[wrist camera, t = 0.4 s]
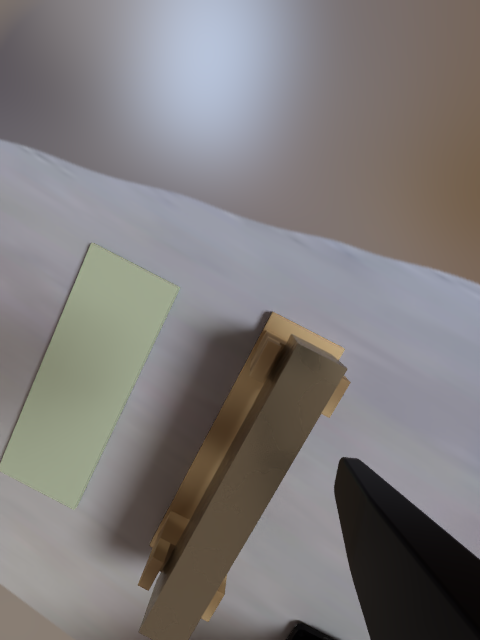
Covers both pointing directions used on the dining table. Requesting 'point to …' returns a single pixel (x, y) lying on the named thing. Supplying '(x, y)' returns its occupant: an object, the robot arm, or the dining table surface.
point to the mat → (87, 375)
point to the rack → (229, 440)
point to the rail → (242, 487)
